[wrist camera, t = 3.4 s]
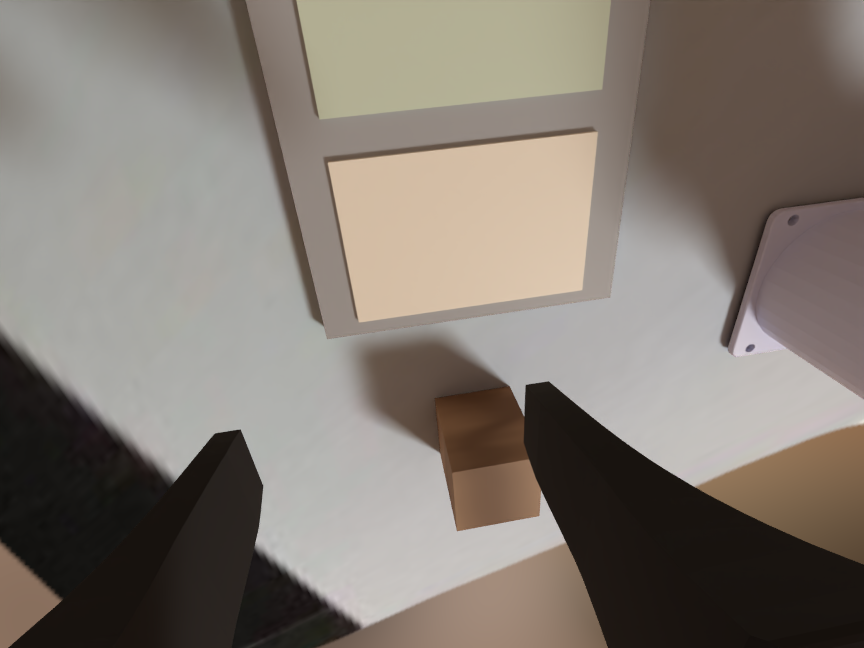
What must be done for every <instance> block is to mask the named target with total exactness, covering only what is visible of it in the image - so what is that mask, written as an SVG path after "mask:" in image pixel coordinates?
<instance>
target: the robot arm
mask: <svg viewBox="0 0 864 648" xmlns="http://www.w3.org/2000/svg"><path fill="white" fill-rule="evenodd" d="M791 216H792V217H791ZM790 217H791V219H790V220H789V218H790ZM788 220H789V221H788ZM783 349H789V350H790V351H792V352H793V353H795V354H796V355H798V356H799V357H801V358H802V359H804V360H805V361H807V362H808V363H810V364H811V365H813V366H814V367H816V368H817V369H819V370H820V371H822V372H823V373H825V374H826V375H828V376H829V377H831V378H832V379H834V380H835V381H837V382H838V383H840V384H841V385H843V386H844V387H846V388H847V389H849V390H850V391H852V392H853V393H855V394H856V395H858V396H860V397H861V398H863V399H864V197H863V198H856V199H848V200H841V201H833V202H826V203H819V204H811V205H804V206H796V207H789V208H781V209H778V210H776V211H774V212H773V213H772V214H771V215H770V216H769V218H768V220H767V223H766V226H765V229H764V232H763V236H762V239H761V242H760V245H759V249H758V252H757V255H756V258H755V262H754V265H753V268H752V271H751V275H750V278H749V281H748V284H747V288H746V291H745V294H744V297H743V301H742V304H741V307H740V310H739V314H738V317H737V320H736V323H735V327H734V330H733V333H732V336H731V340H730V343H729V346H728V352H729V353H730V354H732V355H733V356H735V357H740V356H746V355H752V354H758V353H764V352H771V351H777V350H783ZM524 445H525V448H526V451H527V455H528V458H529V461H530V464H531V466H532V469H533V472H534V475H535V478H536V480H537V482H538V484H539V486H540V489H541V491H542V493H543V495H544V497H545V499H546V501H547V503H548V505H549V508H550V510H551V512H552V514H553V516H554V518H555V520H556V522H557V524H558V526H559V528H560V530H561V532H562V534H563V537H564V539H565V541H566V543H567V545H568V546H569V549H570V551H571V553H572V555H573V557H574V559H575V562H576V564H577V566H578V569H579V571H580V573H581V576H582V578H583V581H584V583H585V586H586V589H587V591H588V594H589V597H590V599H591V602H592V604H593V607H594V610H595V612H596V615H597V618H598V621H599V623H600V626H601V629H602V632H603V635H604V638H605V640H606V643H607V646H608V648H864V565H863V564H861V563H858V562H855V561H853V560H850V559H848V558H845V557H843V556H840V555H838V554H835V553H832V552H830V551H827V550H825V549H822V548H820V547H817V546H815V545H812V544H810V543H808V542H805V541H803V540H801V539H798V538H796V537H794V536H792V535H790V534H787V533H785V532H783V531H780V530H778V529H776V528H774V527H772V526H769V525H767V524H765V523H763V522H761V521H758V520H757V519H755V518H753V517H750V516H748V515H746V514H744V513H742V512H740V511H738V510H736V509H734V508H732V507H730V506H729V505H727V504H725V503H723V502H721V501H719V500H717V499H715V498H713V497H711V496H709V495H708V494H706V493H704V492H702V491H700V490H699V489H697V488H695V487H693V486H692V485H690V484H688V483H687V482H685V481H683V480H682V479H680V478H678V477H677V476H675V475H673V474H672V473H670V472H668V471H667V470H665V469H663V468H662V467H660V466H659V465H657V464H656V463H654V462H652V461H651V460H649V459H648V458H646V457H645V456H644V455H642V454H641V453H639V452H638V451H636V450H635V449H633V448H632V447H631V446H629V445H628V444H626V443H625V442H624V441H622V440H621V439H619V438H618V437H617V436H615V435H614V434H613V433H612V432H610V431H609V430H608V429H606V428H605V427H604V426H602V425H601V424H600V423H599V422H597V421H596V420H595V419H594V418H592V417H591V416H590V415H589V414H587V413H586V412H585V411H584V410H582V409H581V408H580V407H579V406H578V405H576V404H575V403H574V402H573V401H572V400H570V399H569V398H568V397H567V396H566V395H564V394H563V393H562V392H561V391H560V390H558V389H557V388H556V387H555V386H554V385H552V384H551V383H550V382H549V381H548V382H542V383H536V384H529V385H526V392H525V417H524ZM262 493H263V484H262V482H261V479H260V477H259V474H258V472H257V469H256V467H255V464H254V462H253V459H252V457H251V454H250V452H249V449H248V447H247V444H246V442H245V439H244V437H243V434H242V432H241V430H234V431H228V432H221V433H215V434H214V435H213V437H212V438H211V439H210V440H209V441H208V442H207V444H206V445H205V446H204V447H203V448H202V450H201V451H200V452H199V453H198V455H197V456H196V457H195V458H194V459H193V461H192V462H191V463H190V464H189V465H188V467H187V468H186V469H185V470H184V472H183V473H182V474H181V475H180V476H179V478H178V479H177V480H176V481H175V482H174V484H173V485H172V486H171V487H170V488H169V490H168V491H167V492H166V493H165V494H164V495H163V497H162V498H161V499H160V500H159V501H158V502H157V504H156V505H155V506H154V507H153V508H152V509H151V511H150V512H149V513H148V514H147V515H146V516H145V517H144V518H143V519H142V520H141V521H140V523H139V524H138V525H137V526H136V527H135V528H134V529H133V530H132V531H131V532H130V533H129V535H128V536H127V537H126V538H125V539H124V540H123V541H122V542H121V543H120V544H119V546H118V547H117V548H116V549H115V550H114V551H113V552H112V553H111V554H110V555H109V556H108V557H107V558H106V559H105V560H104V561H103V562H102V563H101V564H100V565H99V566H98V567H97V568H96V569H95V570H94V571H93V572H92V573H91V574H90V575H89V576H88V577H87V578H86V579H85V580H84V581H82V582H81V583H80V584H79V585H78V586H77V587H76V588H75V589H74V590H73V591H72V592H71V593H70V594H69V595H68V596H67V597H66V598H64V599H63V600H62V601H61V602H60V603H59V604H58V605H57V606H56V607H55V608H53V610H51V611H50V612H49V613H48V614H46V615H45V616H44V617H43V618H42V619H41V620H40V621H38V622H37V623H36V624H35V625H34V626H33V627H32V628H30V629H29V630H28V631H27V632H26V633H25V634H24V635H22V636H21V637H20V638H19V639H18V640H17V641H16V642H14V643H13V644H12V645H11V646H10V647H9V648H232V642H233V637H234V632H235V627H236V622H237V618H238V614H239V609H240V605H241V601H242V597H243V593H244V588H245V584H246V580H247V576H248V572H249V567H250V563H251V559H252V555H253V550H254V546H255V542H256V537H257V533H258V528H259V521H260V513H261V504H262Z"/></svg>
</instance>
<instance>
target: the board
mask: <svg viewBox="0 0 864 648" xmlns="http://www.w3.org/2000/svg"><path fill="white" fill-rule="evenodd" d="M650 1H651V0H246V5H247V9H248V13H249V17H250V21H251V25H252V29H253V34H254V38H255V42H256V46H257V50H258V54H259V58H260V63H261V67H262V71H263V75H264V79H265V83H266V87H267V92H268V96H269V100H270V104H271V108H272V112H273V117H274V121H275V125H276V129H277V133H278V137H279V141H280V146H281V150H282V154H283V158H284V162H285V166H286V170H287V175H288V179H289V183H290V187H291V191H292V195H293V199H294V204H295V208H296V212H297V216H298V220H299V224H300V228H301V233H302V237H303V241H304V245H305V249H306V253H307V257H308V262H309V266H310V270H311V274H312V278H313V282H314V287H315V291H316V295H317V299H318V303H319V307H320V311H321V316H322V320H323V324H324V328H325V332H326V336H327V339H331V338H338V337H344V336H351V335H358V334H365V333H372V332H378V331H385V330H392V329H399V328H406V327H412V326H419V325H426V324H433V323H440V322H446V321H453V320H460V319H467V318H474V317H480V316H487V315H494V314H501V313H508V312H514V311H521V310H528V309H535V308H542V307H548V306H555V305H562V304H569V303H576V302H582V301H589V300H596V299H603V298H610V295H611V288H612V280H613V273H614V266H615V258H616V251H617V244H618V236H619V229H620V222H621V214H622V207H623V200H624V192H625V185H626V178H627V170H628V163H629V156H630V148H631V141H632V134H633V126H634V119H635V112H636V104H637V97H638V89H639V82H640V75H641V67H642V60H643V53H644V45H645V38H646V31H647V23H648V16H649V9H650Z"/></svg>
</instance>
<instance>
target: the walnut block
mask: <svg viewBox="0 0 864 648" xmlns="http://www.w3.org/2000/svg"><path fill="white" fill-rule="evenodd" d="M435 406H436V416H437V426H438V436H439V446H440V454H441V459H442V463H443V468H444V473H445V477H446V482H447V487H448V491H449V496H450V501H451V505H452V510H453V514H454V519H455V524H456V528H457V531H461V530H466V529H471V528H477V527H482V526H488V525H493V524H498V523H504V522H509V521H515V520H520V519H525V518H531V517H536V516H539V512H540V497H541V489H540V486H539V484H538V482H537V480H536V478H535V475H534V472H533V469H532V466H531V464H530V461H529V458H528V455H527V451H526V448H525V445H524V416H523V414H522V411H521V409H520V407H519V405H518V403H517V401H516V399H515V397H514V395H513V392H512V390H511V388H510V386H508V387H502V388H496V389H489V390H483V391H477V392H471V393H464V394H458V395H452V396H446V397H439V398H435Z"/></svg>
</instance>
